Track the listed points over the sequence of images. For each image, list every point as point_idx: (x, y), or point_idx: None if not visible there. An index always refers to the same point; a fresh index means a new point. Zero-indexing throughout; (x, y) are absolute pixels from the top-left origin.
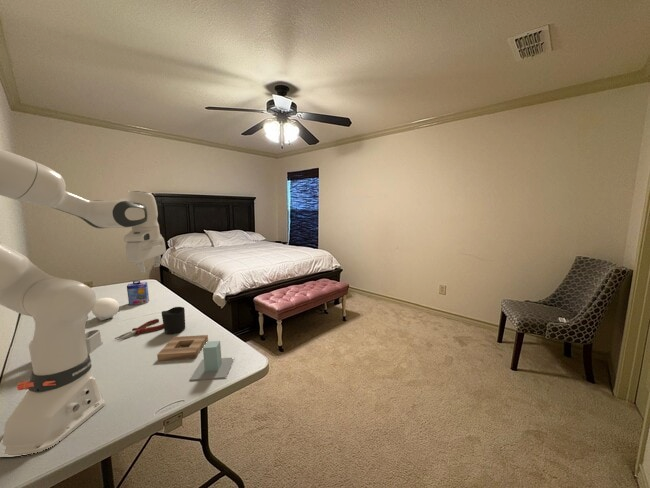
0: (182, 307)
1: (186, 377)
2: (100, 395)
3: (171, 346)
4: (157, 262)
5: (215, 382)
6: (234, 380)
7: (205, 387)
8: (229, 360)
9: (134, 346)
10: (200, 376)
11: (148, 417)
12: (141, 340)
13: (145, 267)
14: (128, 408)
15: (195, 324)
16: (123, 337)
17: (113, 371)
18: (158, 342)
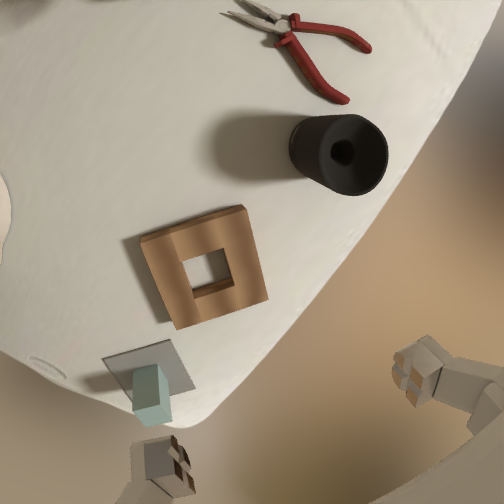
0: (382, 173)
1: (109, 347)
2: (2, 240)
3: (188, 248)
4: (430, 393)
5: (118, 395)
6: None
7: (102, 388)
8: (182, 386)
9: (202, 92)
10: (119, 370)
11: (20, 354)
12: (242, 83)
13: (182, 495)
14: (13, 312)
15: None
16: (244, 19)
17: (74, 160)
18: (235, 151)
